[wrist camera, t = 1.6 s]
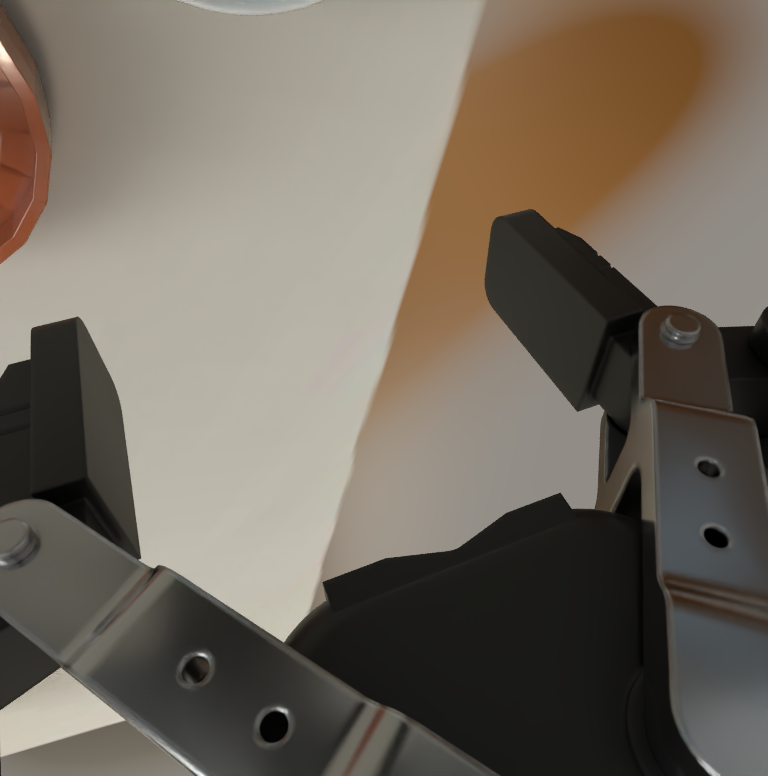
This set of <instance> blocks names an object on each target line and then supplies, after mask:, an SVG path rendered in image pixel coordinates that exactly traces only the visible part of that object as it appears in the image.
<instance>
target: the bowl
mask: <svg viewBox="0 0 768 776" xmlns="http://www.w3.org/2000/svg"><path fill="white" fill-rule="evenodd" d="M51 156H52V153H51V130H50V115H49V111H48V107H47V104H46V100H45V96H44V92H43V88H42V85H41V81H40V77H39V73H38V70H37V66H36V64H35V61H34V59H33V58H32V56H31V54H30V53H29V51H28V49H27V48H26V46H25V44H24V43H23V41H22V39H21V38H20V36H19V34H18V33H17V31H16V29H15V28H14V26H13V24H12V23H11V21H10V19H9V18H8V16H7V14H6V13H5V11H4V9H3V8H2V6H1V5H0V264H1V263H2V262H3V261H4V260H6V259H7V258H8V257H9V256H11V255H12V254H13V253H14V252H15V251H17V250H18V249H19V248H20V247H22V246H23V245H24V244H25V242H26V241H27V239H28V238H29V236H30V234H31V232H32V230H33V228H34V227H35V225H36V223H37V221H38V219H39V217H40V215H41V214H42V212H43V210H44V208H45V206H46V204H47V200H48V189H49V178H50V167H51Z"/></svg>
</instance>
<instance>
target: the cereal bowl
mask: <svg viewBox="0 0 768 776" xmlns="http://www.w3.org/2000/svg"><path fill="white" fill-rule="evenodd" d="M177 1H179V2H182V3H185V4H188V5H191V6H194V7H197V8H200V9H205V10H209V11H214V12H219V13H225V14H233V15H245V16H262V15H273V14H279V13H286V12H291V11H296V10H300V9H303V8H306V7H310V6H312V5H315V4H318V3H320V2H323V1H325V0H177Z"/></svg>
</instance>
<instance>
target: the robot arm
mask: <svg viewBox="0 0 768 776" xmlns="http://www.w3.org/2000/svg"><path fill="white" fill-rule="evenodd" d="M485 290H486V295H487V297H488V300H489V303H490V305H491V306H492V308H493V309H494V310H495V311H496V313H497V314H498V315H499V316H500V318H501V319H502V320H503V321H504V323H505V324H506V325H507V326H508V328H509V329H510V330H511V331H512V332H513V334H514V335H515V336H516V337H517V339H518V340H519V341H520V342H521V343H522V344H523V346H524V347H525V348H526V350H527V351H528V352H529V353H530V354H531V356H532V357H533V358H534V359H535V361H536V362H537V363H538V364H539V365H540V367H541V368H542V369H543V370H544V372H545V373H546V374H547V375H548V376H549V378H550V379H551V380H552V381H553V383H554V384H555V385H556V386H557V387H558V389H559V390H560V391H561V392H562V393H563V395H564V396H565V397H566V398H567V400H568V401H569V402H570V403H571V405H572V406H573V407H574V408H575V409H576V411H581V410H584V409H587V408H590V407H593V406H596V405H598V404H599V405H600V406H601V407H602V408H603V409H604V410H605V411H604V414H603V416H602V420H601V428H600V450H599V473H598V493H597V500H596V505H595V509H571V508H570V506H569V505H568V503H567V502H566V500H565V499H564V497H563V496H562V494H561V493H559V494H556V495H553V496H551V497H548V498H545V499H542V500H540V501H537V502H534V503H532V504H530V505H526V506H524V507H521V508H518V509H516V510H513V511H511V512H508V513H506V514H504V515H503V516H502V517H500V518H499V519H498V520H496V521H495V522H493V523H492V524H491V525H490V526H488V527H487V528H485V529H484V530H483V531H481V532H480V533H478V534H477V535H476V536H474V537H473V538H472V539H470V540H469V541H468V542H466V543H465V544H463V545H462V546H461V547H459V548H457V549H455V550H451V551H446V552H436V553H428V554H420V555H411V556H402V557H393V558H385V559H383V560H380V561H377V562H375V563H373V564H370V565H367V566H364V567H361V568H359V569H356V570H353V571H351V572H348V573H345V574H343V575H340V576H338V577H335V578H332V579H330V580H327V581H325V582H323V587H324V592H325V597H326V601H325V602H323V603H322V604H321V605H320V606H318V607H317V608H315V609H314V610H313V611H312V612H311V613H310V614H308V615H307V616H306V617H305V618H304V619H303V620H302V621H301V622H300V623H299V624H298V626H297V627H296V628H295V629H294V630H293V631H292V633H291V634H290V635H289V636H288V638H287V639H286V641H285V642H284V643H283V642H282V641H280V640H279V639H277V638H276V637H274V636H273V635H271V634H270V633H268V632H267V631H265V630H264V629H262V628H260V627H259V626H257V625H256V624H254V623H253V622H251V621H250V620H248V619H247V618H245V617H244V616H242V615H241V614H239V613H238V612H236V611H235V610H233V609H231V608H230V607H228V606H227V605H225V604H224V603H222V602H221V601H219V600H218V599H216V598H215V597H213V596H212V595H210V594H209V593H207V592H205V591H204V590H202V589H201V588H199V587H198V586H196V585H195V584H193V583H192V582H190V581H189V580H187V579H186V578H184V577H183V576H181V575H179V574H178V573H176V572H175V571H173V570H171V569H169V568H167V567H165V566H161V565H158V566H157V567H156V568H155V569H154V568H151V567H149V566H147V565H145V564H144V563H142V562H141V561H139V560H138V559H141V554H140V546H139V539H138V531H137V523H136V516H135V508H134V500H133V493H132V485H131V478H130V470H129V462H128V455H127V447H126V440H125V432H124V424H123V417H122V410H121V405H120V401H119V397H118V394H117V391H116V388H115V385H114V383H113V380H112V378H111V376H110V374H109V372H108V370H107V368H106V366H105V364H104V362H103V360H102V358H101V356H100V354H99V352H98V350H97V348H96V346H95V344H94V342H93V340H92V338H91V336H90V334H89V332H88V330H87V328H86V326H85V325H84V323H83V321H82V320H81V319H80V318H79V317H75V318H71V319H66V320H62V321H58V322H54V323H50V324H46V325H42V326H37V327H33V328H32V330H31V359H30V360H26V361H22V362H18V363H14V364H10V365H8V366H7V368H6V370H5V371H4V373H3V375H2V376H1V378H0V710H1V709H3V708H4V707H5V706H7V705H8V704H10V703H11V702H13V701H14V700H15V699H17V698H18V697H20V696H21V695H22V694H24V693H25V692H27V691H28V690H29V689H31V688H32V687H34V686H35V685H36V684H38V683H39V682H41V681H42V680H43V679H45V678H46V677H48V676H49V675H50V674H52V673H53V672H55V671H56V670H57V669H59V668H60V667H61V668H62V669H63V670H65V671H66V672H67V673H68V674H70V675H71V676H72V677H73V678H75V679H76V680H77V681H78V682H80V683H81V684H82V685H83V686H84V687H86V688H87V689H88V690H89V691H91V692H92V693H93V694H94V695H96V696H97V697H98V698H99V699H101V700H102V701H103V702H104V703H105V704H107V705H108V706H109V707H110V708H112V709H113V710H114V711H115V712H117V713H118V714H119V715H120V716H122V717H123V718H124V719H125V720H127V721H128V722H129V723H130V724H131V725H133V726H134V727H135V728H136V729H138V730H139V731H140V732H141V733H142V734H144V735H145V736H146V737H147V738H149V739H150V740H151V741H152V742H153V743H155V744H156V745H157V746H158V747H160V748H161V749H162V750H163V751H165V752H166V753H167V754H168V755H169V756H171V757H172V758H173V759H174V760H175V761H177V762H178V763H179V764H181V765H182V766H183V767H184V768H185V769H187V770H188V771H189V772H190V773H192V774H193V775H194V776H768V307H767V308H766V309H765V310H764V311H763V312H762V314H761V316H760V318H759V320H758V321H757V323H756V325H755V326H743V327H717V326H716V324H715V323H713V322H712V321H711V320H710V319H709V318H707V317H706V316H704V315H702V314H700V313H698V312H696V311H694V310H691V309H687V308H684V307H678V306H659V307H658V306H656V305H655V304H654V303H653V302H652V301H651V300H650V299H649V298H647V297H646V296H645V295H644V294H643V293H642V292H641V291H640V290H639V289H637V288H636V287H635V286H634V285H633V284H632V283H630V281H629V280H627V279H626V278H625V277H624V276H623V275H622V274H621V273H620V272H618V271H617V270H616V269H615V268H614V267H613V268H611V266H610V263H608V262H607V261H606V260H605V259H604V258H603V257H602V256H598V255H597V252H596V251H595V250H594V249H593V248H592V247H591V246H589V245H588V244H587V243H586V242H585V241H584V240H583V239H582V238H580V237H578V236H576V235H573V234H571V233H569V232H567V231H565V230H563V229H560V228H554V227H553V226H552V225H551V224H549V223H548V222H547V221H546V220H545V219H544V218H543V217H542V216H541V215H540V214H539V213H537V212H536V211H535V210H533V209H529V210H525V211H520V212H516V213H512V214H508V215H504V216H500V217H497V218H496V219H495V220H494V221H493V224H492V227H491V234H490V242H489V249H488V257H487V266H486V273H485ZM0 762H1V761H0ZM0 776H1V763H0Z"/></svg>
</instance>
